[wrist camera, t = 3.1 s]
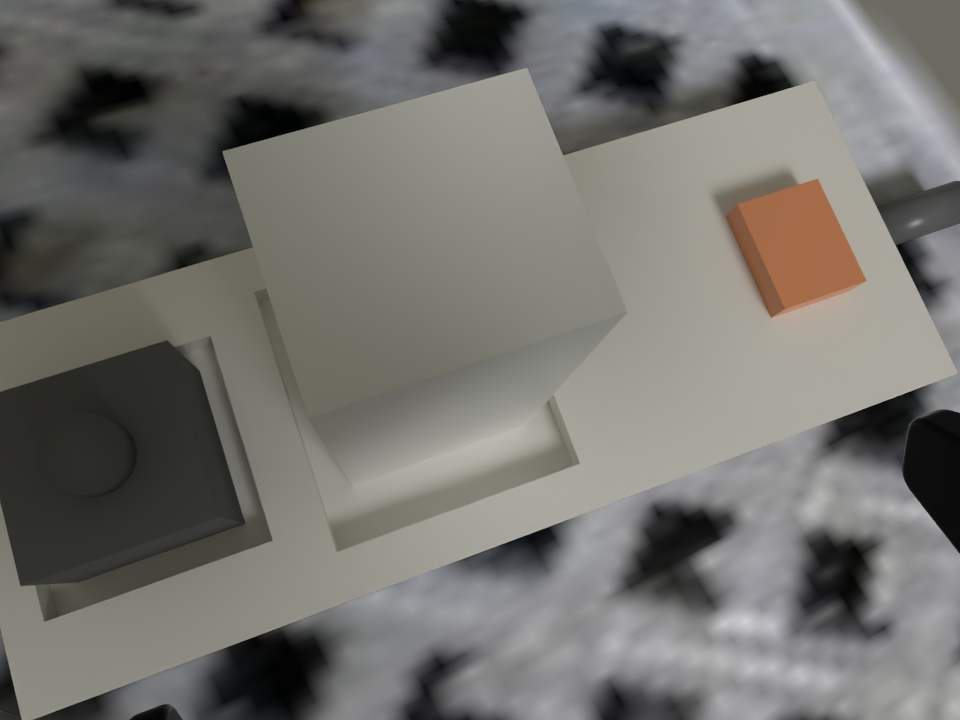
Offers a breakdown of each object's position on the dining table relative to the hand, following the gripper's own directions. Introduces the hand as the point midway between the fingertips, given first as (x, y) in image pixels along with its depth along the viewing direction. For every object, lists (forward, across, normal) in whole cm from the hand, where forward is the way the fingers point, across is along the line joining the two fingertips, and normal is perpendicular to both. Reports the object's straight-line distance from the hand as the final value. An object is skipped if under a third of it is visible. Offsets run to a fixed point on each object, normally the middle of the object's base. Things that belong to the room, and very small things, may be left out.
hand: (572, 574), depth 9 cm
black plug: (+11, +7, +4) cm, 14 cm away
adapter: (+11, 0, +4) cm, 12 cm away
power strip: (+12, -3, +5) cm, 13 cm away
